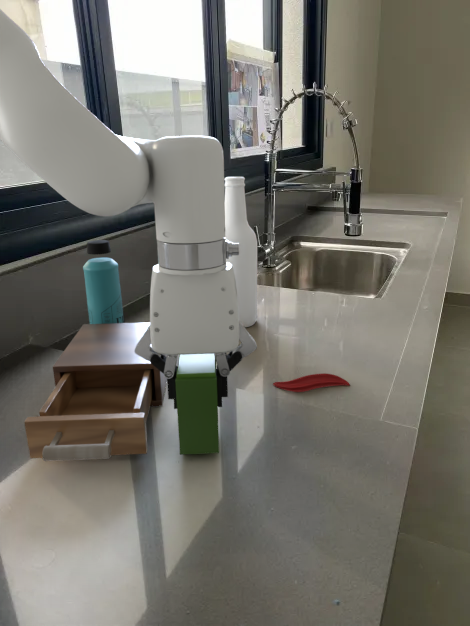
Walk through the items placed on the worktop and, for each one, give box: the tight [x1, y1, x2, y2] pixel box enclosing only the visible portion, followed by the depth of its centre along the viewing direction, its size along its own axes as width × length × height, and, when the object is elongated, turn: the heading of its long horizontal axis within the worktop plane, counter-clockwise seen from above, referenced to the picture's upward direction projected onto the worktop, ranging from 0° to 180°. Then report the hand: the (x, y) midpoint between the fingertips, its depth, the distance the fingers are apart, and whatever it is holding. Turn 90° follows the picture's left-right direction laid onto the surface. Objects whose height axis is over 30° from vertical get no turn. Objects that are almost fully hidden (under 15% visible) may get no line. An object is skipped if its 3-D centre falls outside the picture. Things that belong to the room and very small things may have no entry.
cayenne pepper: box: [272, 372, 351, 393], centre depth 77 cm, size 12×5×2 cm, turn 82°
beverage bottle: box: [82, 239, 126, 324], centre depth 92 cm, size 6×7×20 cm
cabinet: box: [52, 321, 167, 408], centre depth 79 cm, size 18×15×7 cm
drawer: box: [23, 369, 154, 462], centre depth 63 cm, size 21×14×5 cm, turn 3°
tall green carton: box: [175, 354, 220, 455], centre depth 60 cm, size 5×8×10 cm, turn 3°
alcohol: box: [224, 176, 258, 328], centre depth 101 cm, size 9×9×30 cm
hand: (198, 401), depth 60 cm, fingers closed on tall green carton, 4 cm apart
